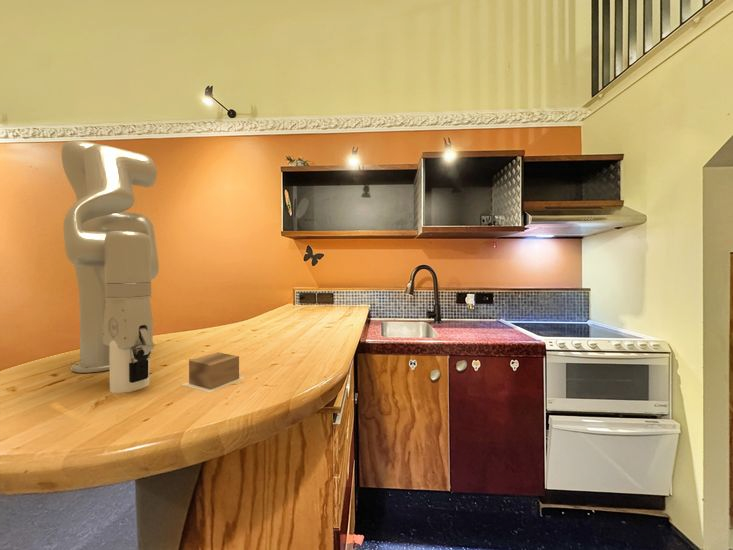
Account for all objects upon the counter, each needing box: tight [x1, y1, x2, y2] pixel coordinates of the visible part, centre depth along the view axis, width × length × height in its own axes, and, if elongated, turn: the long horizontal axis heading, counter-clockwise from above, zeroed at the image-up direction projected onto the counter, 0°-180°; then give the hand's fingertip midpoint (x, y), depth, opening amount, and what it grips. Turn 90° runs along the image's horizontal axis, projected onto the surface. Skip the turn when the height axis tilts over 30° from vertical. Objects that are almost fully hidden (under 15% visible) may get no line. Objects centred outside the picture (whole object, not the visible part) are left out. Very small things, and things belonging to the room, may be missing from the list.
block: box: [188, 352, 240, 390], centre depth 65 cm, size 7×7×5 cm
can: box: [109, 337, 150, 394], centre depth 62 cm, size 6×6×12 cm
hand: (130, 376), depth 62 cm, fingers closed on can, 6 cm apart
